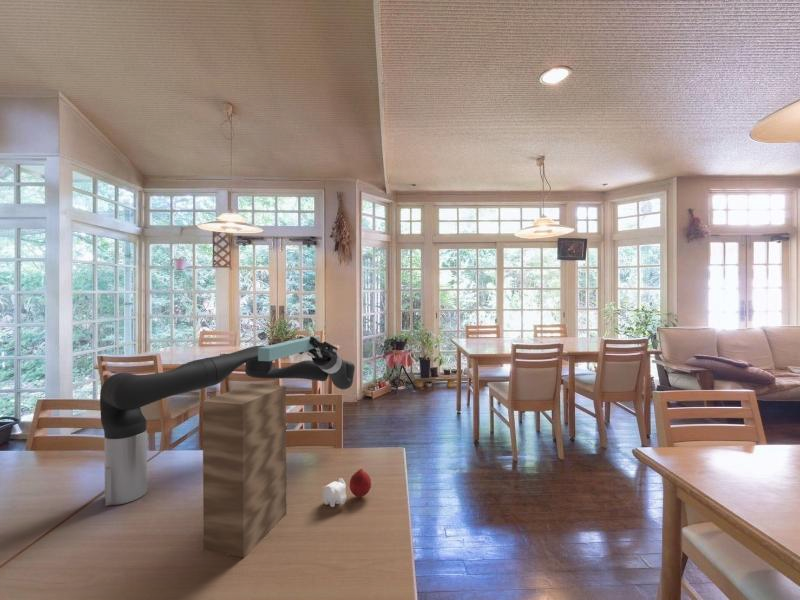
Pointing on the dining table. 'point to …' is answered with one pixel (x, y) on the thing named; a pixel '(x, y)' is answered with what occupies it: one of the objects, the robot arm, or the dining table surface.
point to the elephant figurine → (334, 493)
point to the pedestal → (243, 467)
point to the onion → (360, 483)
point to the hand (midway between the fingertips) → (305, 339)
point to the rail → (284, 349)
